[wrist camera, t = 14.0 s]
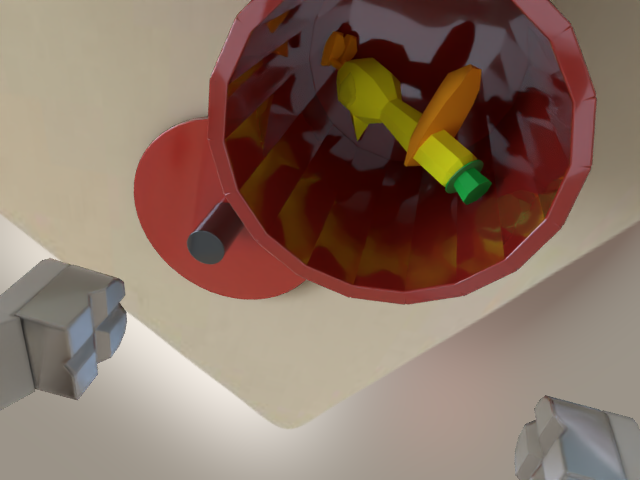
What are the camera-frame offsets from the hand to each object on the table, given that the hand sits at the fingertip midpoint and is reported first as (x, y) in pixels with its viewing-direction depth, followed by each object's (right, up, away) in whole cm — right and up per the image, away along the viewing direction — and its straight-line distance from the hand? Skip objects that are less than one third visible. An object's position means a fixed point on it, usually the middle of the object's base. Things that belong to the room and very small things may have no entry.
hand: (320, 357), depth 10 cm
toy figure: (+1, +13, +20) cm, 24 cm away
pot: (+5, +13, +20) cm, 24 cm away
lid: (-6, +4, +28) cm, 29 cm away
